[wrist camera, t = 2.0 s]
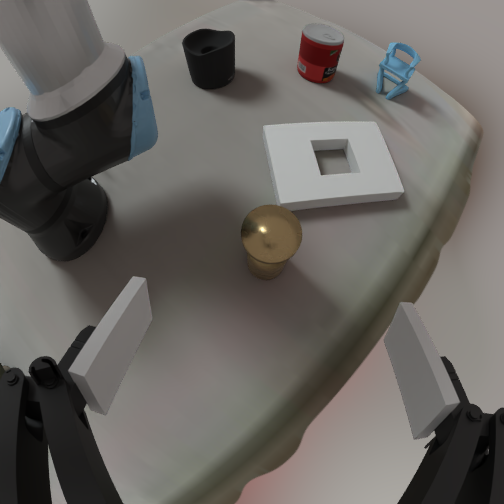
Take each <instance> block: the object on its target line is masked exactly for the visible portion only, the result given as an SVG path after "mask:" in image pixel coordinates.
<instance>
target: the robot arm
mask: <svg viewBox="0 0 504 504" xmlns="http://www.w3.org/2000/svg"><path fill="white" fill-rule="evenodd" d="M0 47H1V49H2V50H3V52H4V53H5V55H6V56H7V58H8V60H9V61H10V63H11V64H12V66H13V67H14V69H15V70H16V72H17V73H18V75H19V76H20V77H21V79H22V81H23V82H24V83H25V85H26V86H27V88H28V89H29V90H30V96H29V100H28V104H27V113H25V114H24V115H22V114H21V111H20V110H19V109H15V108H14V107H9V108H6V109H4V110H2V111H1V112H0V218H2V219H3V220H5V221H7V222H9V223H10V224H12V225H14V226H16V227H18V228H19V229H21V230H23V231H25V232H27V233H28V235H29V236H30V237H31V239H32V240H33V241H34V242H35V244H36V245H37V247H38V248H39V250H40V251H41V252H42V253H43V254H45V255H46V256H48V257H50V258H52V259H55V260H58V261H70V260H73V259H75V258H78V257H79V256H81V255H82V254H84V253H85V252H86V251H87V250H89V249H90V248H91V246H92V245H93V244H94V243H95V241H96V240H97V239H98V237H99V235H100V233H101V231H102V229H103V227H104V224H105V221H106V216H107V198H106V194H105V192H104V190H103V188H102V187H101V186H100V185H99V183H98V182H97V181H96V180H95V179H94V178H92V176H94V175H96V174H98V173H101V172H103V171H105V170H107V169H109V168H112V167H114V166H116V165H119V164H121V163H123V162H126V161H129V160H131V159H132V158H133V157H135V156H137V155H139V154H141V153H143V152H145V151H147V150H149V149H151V148H152V147H153V146H154V145H155V143H156V141H157V138H158V131H157V125H156V119H155V114H154V110H153V105H152V100H151V96H150V91H149V87H148V81H147V76H146V71H145V67H144V63H143V59H142V58H141V57H140V56H132V57H131V56H130V57H129V58H127V57H126V55H125V52H124V49H123V48H122V47H121V46H120V45H118V44H114V43H109V42H104V41H103V38H102V36H101V34H100V31H99V29H98V26H97V24H96V21H95V19H94V16H93V14H92V11H91V9H90V6H89V4H88V1H87V0H0ZM152 320H153V318H152V312H151V307H150V300H149V294H148V287H147V280H146V278H142V277H135V276H133V277H132V278H131V280H130V281H129V282H128V284H127V285H126V286H125V288H124V289H123V290H122V292H121V293H120V294H119V296H118V297H117V299H116V300H115V301H114V303H113V304H112V306H111V307H110V308H109V310H108V311H107V313H106V314H105V316H104V317H103V318H102V320H101V321H100V323H99V324H98V326H97V327H94V326H90V325H89V326H87V327H86V328H85V329H83V330H82V331H81V332H80V333H79V334H78V336H77V337H76V339H75V341H74V342H73V343H72V344H71V347H69V349H68V350H67V352H66V353H65V355H64V356H63V358H62V359H61V361H60V362H59V364H58V365H57V364H56V362H55V360H54V359H52V358H51V357H48V356H43V357H39V358H37V359H35V360H34V361H33V362H32V363H31V365H30V367H29V374H30V375H31V377H30V376H25V375H24V374H23V372H22V370H20V369H19V368H10V369H8V370H6V371H5V372H4V373H3V375H2V377H1V380H0V504H52V500H51V491H50V480H49V465H48V445H49V449H50V453H51V457H52V460H53V464H54V467H55V470H56V474H57V477H58V480H59V483H60V486H61V488H62V491H63V494H64V497H65V499H66V502H67V504H123V502H122V500H121V498H120V496H119V494H118V492H117V490H116V488H115V486H114V484H113V482H112V480H111V478H110V475H109V473H108V471H107V469H106V466H105V464H104V462H103V459H102V457H101V454H100V452H99V449H98V447H97V444H96V441H95V439H94V436H93V433H92V430H91V428H90V425H89V422H88V419H87V416H86V413H85V411H84V408H85V406H86V404H88V406H89V408H90V409H91V410H92V411H95V412H97V413H100V414H103V415H106V414H107V412H108V410H109V408H110V405H111V403H112V401H113V399H114V397H115V395H116V392H117V390H118V388H119V386H120V384H121V382H122V380H123V378H124V376H125V373H126V371H127V369H128V367H129V365H130V363H131V361H132V359H133V357H134V355H135V353H136V351H137V349H138V347H139V345H140V343H141V341H142V339H143V337H144V335H145V333H146V331H147V329H148V327H149V325H150V323H151V321H152ZM384 343H385V346H386V349H387V351H388V354H389V357H390V360H391V363H392V366H393V369H394V372H395V375H396V379H397V382H398V385H399V388H400V391H401V395H402V398H403V401H404V405H405V408H406V412H407V415H408V419H409V423H410V427H411V430H412V434H413V438H414V439H420V438H425V437H428V436H429V435H430V434H431V433H432V432H433V431H435V434H436V436H435V437H434V438H433V439H432V440H431V441H430V442H429V443H428V444H427V445H426V446H425V447H424V448H427V447H428V446H429V445H430V446H429V448H428V450H427V453H426V454H425V456H424V459H423V460H422V462H421V464H420V466H419V468H418V470H417V472H416V474H415V475H414V477H413V479H412V481H411V482H410V484H409V486H408V487H407V489H406V491H405V492H404V494H403V496H402V497H401V499H400V500H399V502H398V503H397V504H504V408H500V409H498V410H497V411H496V412H495V413H494V414H487V413H483V412H482V410H481V409H480V408H479V407H478V406H477V405H474V404H470V403H469V401H468V398H467V396H466V393H465V391H464V389H463V387H462V384H461V382H460V380H459V378H458V376H457V374H456V372H455V369H454V367H453V365H452V363H451V362H450V361H449V360H448V359H447V358H446V357H445V356H444V357H440V356H439V354H438V352H437V349H436V347H435V345H434V343H433V341H432V340H431V337H430V336H429V333H428V332H427V330H426V328H425V326H424V324H423V322H422V320H421V318H420V316H419V315H418V313H417V311H416V309H415V307H414V305H413V304H412V303H408V302H400V304H399V306H398V309H397V311H396V313H395V316H394V318H393V320H392V323H391V325H390V327H389V330H388V332H387V334H386V336H385V339H384ZM488 449H489V452H488Z"/></svg>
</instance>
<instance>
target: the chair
mask: <svg viewBox="0 0 504 504" xmlns="http://www.w3.org/2000/svg"><path fill="white" fill-rule="evenodd" d="M396 49H400V50H402V51H404V52H406V53H408V54H409V55H410V56H412V57H413V58H414V60H413V62H412V63H411V64H410V65H408V64H407V63H405V62H403V61H401V60H400V59H398V58H397V57H395V56H394V55H395V53H396ZM391 52H392V53H391ZM390 53H391V54H390ZM420 60H421V59H420V57H419V56H418V54H417V53H416V52H415V51H414V50H413V49H412V48H411V47H410V46H408V45H406V44H402V43H390V45H389V48H388V51H387V53H386V58H385V59H384V60H383V61H382V62H381V63H380V65H379V67H380V70H379V72H378V76H377V88H376V93H380V91H381V89H382V82H383V76H384V77H386V78H388V79H389V80H391V81H393V82H394V83H396V84H397V86H396V87H395V88H394V89H393V90H391V91H390V92H389V93H388V94H387V96H386V99H388V100H390V99H391V98H393V97H395V96H397V95H399V94H402V93H404V92H406V91H407V90H408V88H409V87H407V86H406V85H405V84H406V83H407V82H408V80H409V79H410V77H411V75H412V74H413V72H414V71H415V68H414V67H415V66H416V65H417V64H418V63H419V62H420ZM384 69H385V70H387V71H389V72H391V73H393V74H394V75H396V76H397V77H399V78H400V79H401V80H403V81H402V82H400V81H398V80H396V79H395V78H393V77H392V76H390V75H388V74H387V73H385V72H384ZM401 87H402V88H401ZM400 88H401V89H400Z"/></svg>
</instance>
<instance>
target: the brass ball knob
mask: <svg viewBox="0 0 504 504" xmlns="http://www.w3.org/2000/svg"><path fill="white" fill-rule="evenodd" d="M241 238H242V243H243V246H244V248H245V250H246V251H247V260H248V267H249V270H250V272H251V273H252V274H253V275H254V276H255V277H257V278H259V279H262V280H270V279H273V278H275V277H277V276H278V275H279V274H280V273H281V271H282V269H283V267H284V265H285V263H286V261H287V260H288V259H290V258H291V257H292V256H293V255H294V254H295V253H296V251H297V250H298V248H299V246H300V243H301V240H302V228H301V225H300V223H299V221H298V219H297V217H296V216H295V215H294V214H293V213H292V212H291V211H289V210H288V209H286V208H284V207H281V206H278V205H264V206H260V207H258V208H256V209H254V210H253V211H251V212H250V213H249V214H248V215H247V217H246V218H245V220H244V222H243V224H242V229H241Z"/></svg>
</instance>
